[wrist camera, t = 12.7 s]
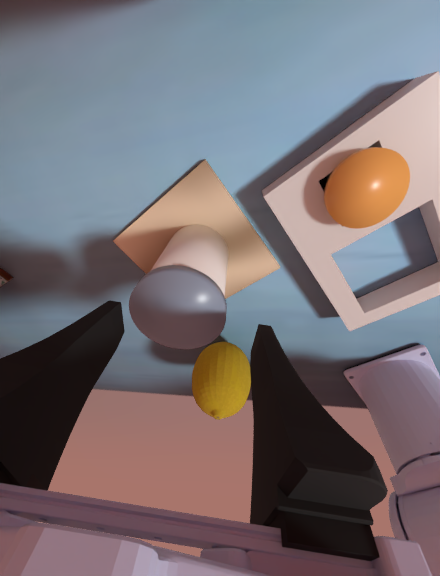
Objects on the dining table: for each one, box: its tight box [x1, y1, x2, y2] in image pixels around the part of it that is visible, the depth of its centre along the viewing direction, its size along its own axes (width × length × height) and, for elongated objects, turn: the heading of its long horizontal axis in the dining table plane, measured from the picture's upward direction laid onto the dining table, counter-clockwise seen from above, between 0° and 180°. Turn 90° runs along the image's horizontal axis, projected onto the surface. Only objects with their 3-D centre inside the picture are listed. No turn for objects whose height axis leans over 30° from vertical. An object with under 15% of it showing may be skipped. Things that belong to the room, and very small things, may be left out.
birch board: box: [113, 159, 280, 299], centre depth 21 cm, size 10×10×1 cm
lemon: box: [192, 342, 251, 419], centre depth 23 cm, size 6×6×8 cm
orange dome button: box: [324, 147, 410, 229], centre depth 15 cm, size 4×4×3 cm
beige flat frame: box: [262, 71, 440, 331], centre depth 17 cm, size 14×10×2 cm
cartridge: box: [129, 225, 229, 349], centre depth 17 cm, size 5×5×8 cm
